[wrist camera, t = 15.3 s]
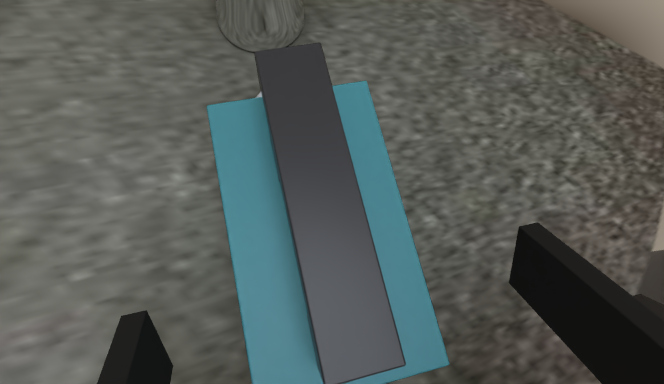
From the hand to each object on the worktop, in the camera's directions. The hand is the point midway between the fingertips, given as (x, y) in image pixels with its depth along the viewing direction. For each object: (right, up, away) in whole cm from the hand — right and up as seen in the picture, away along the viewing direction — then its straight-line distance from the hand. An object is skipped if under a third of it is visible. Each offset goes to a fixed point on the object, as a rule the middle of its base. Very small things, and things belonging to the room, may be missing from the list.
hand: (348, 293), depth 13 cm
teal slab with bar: (-2, +2, +9) cm, 10 cm away
